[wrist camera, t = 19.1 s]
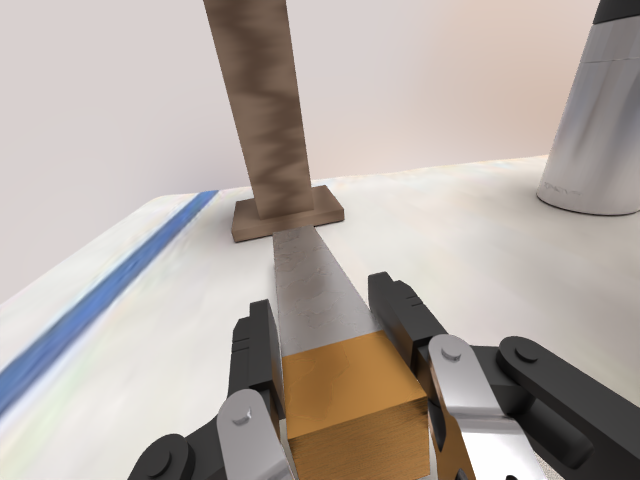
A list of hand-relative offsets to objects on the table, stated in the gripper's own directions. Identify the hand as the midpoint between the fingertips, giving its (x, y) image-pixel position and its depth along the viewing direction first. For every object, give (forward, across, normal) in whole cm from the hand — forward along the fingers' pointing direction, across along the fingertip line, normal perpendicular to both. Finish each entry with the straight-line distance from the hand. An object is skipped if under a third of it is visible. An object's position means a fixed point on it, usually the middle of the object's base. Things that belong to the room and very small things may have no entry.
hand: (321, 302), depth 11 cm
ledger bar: (+4, 0, +5) cm, 7 cm away
